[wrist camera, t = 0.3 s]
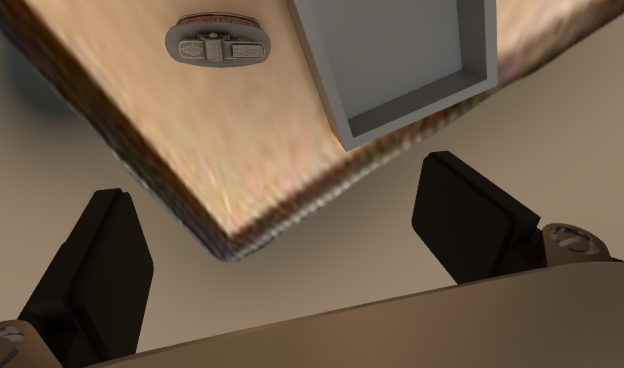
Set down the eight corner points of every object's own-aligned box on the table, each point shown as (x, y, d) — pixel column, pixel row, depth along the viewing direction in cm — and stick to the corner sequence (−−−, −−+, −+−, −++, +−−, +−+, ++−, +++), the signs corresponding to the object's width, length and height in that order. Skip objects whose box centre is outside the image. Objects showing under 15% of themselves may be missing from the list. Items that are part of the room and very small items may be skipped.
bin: (453, -113, 30) (494, -128, 26) (466, 72, 40) (497, 85, 36) (273, -33, 30) (282, -34, 26) (332, 131, 41) (346, 151, 36)
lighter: (179, 49, 32) (164, 75, 24) (173, 10, 30) (155, 24, 22) (262, 50, 34) (275, 75, 26) (261, 13, 32) (274, 27, 24)
